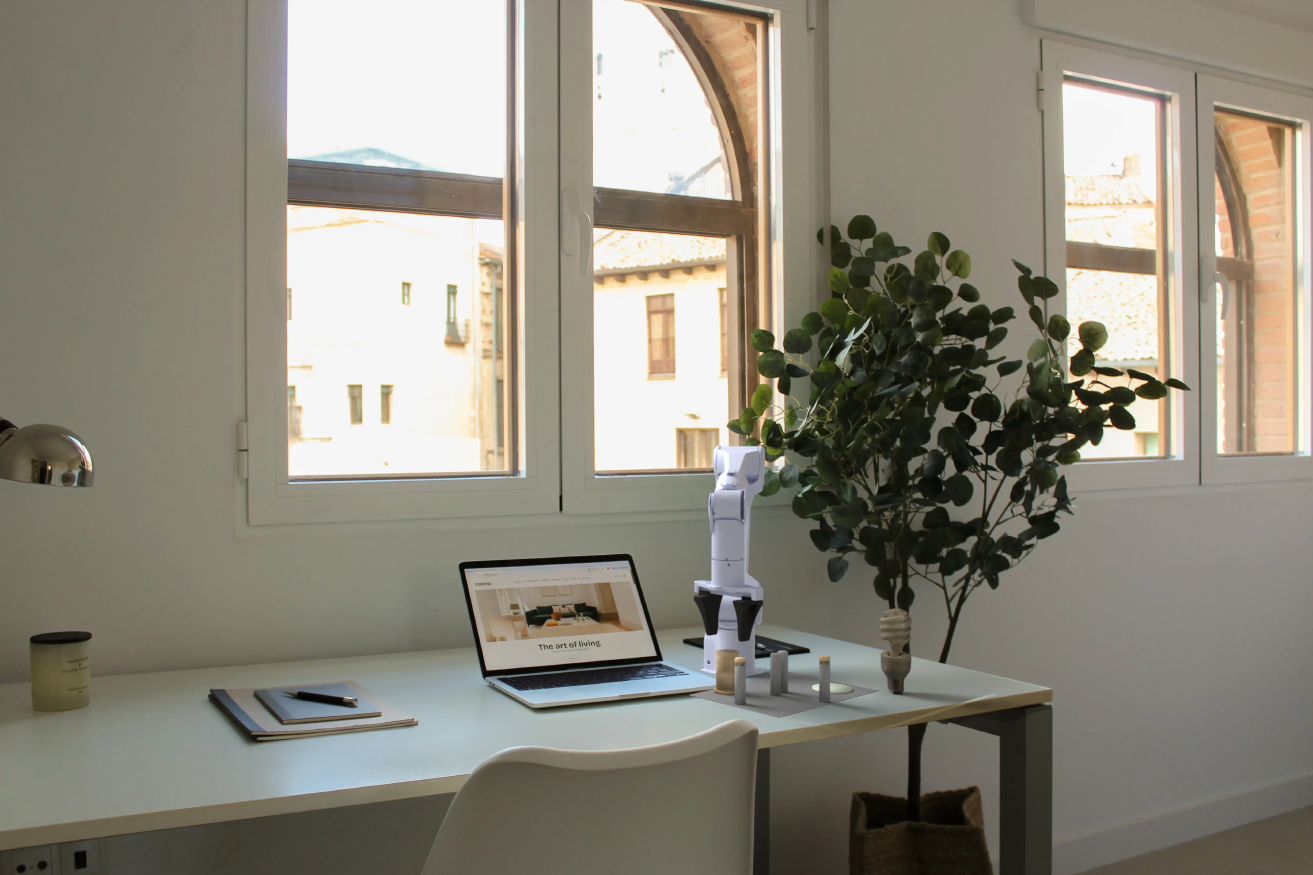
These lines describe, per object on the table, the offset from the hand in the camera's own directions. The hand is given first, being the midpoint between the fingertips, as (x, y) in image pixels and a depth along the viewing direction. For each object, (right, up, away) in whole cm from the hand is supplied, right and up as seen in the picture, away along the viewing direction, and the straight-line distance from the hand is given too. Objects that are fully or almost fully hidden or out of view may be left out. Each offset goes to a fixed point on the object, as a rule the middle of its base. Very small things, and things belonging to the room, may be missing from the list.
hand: (727, 637), depth 178 cm
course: (+10, -10, 0) cm, 14 cm away
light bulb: (+29, -10, 0) cm, 31 cm away
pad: (+18, -9, +2) cm, 21 cm away
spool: (0, -9, 0) cm, 9 cm away
